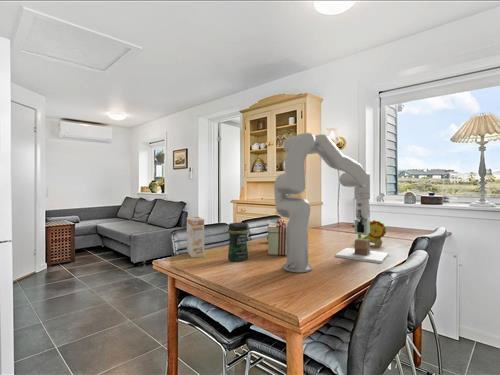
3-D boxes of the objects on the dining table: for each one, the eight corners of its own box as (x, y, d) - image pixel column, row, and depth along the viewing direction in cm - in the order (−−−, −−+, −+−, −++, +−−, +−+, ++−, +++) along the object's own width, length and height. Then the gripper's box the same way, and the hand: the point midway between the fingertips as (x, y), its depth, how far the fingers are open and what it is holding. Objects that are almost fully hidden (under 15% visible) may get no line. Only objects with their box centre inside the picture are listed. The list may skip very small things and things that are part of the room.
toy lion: (357, 244, 177) (357, 219, 176) (359, 242, 181) (359, 218, 181) (385, 247, 168) (385, 221, 168) (386, 245, 173) (386, 220, 172)
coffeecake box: (205, 256, 151) (204, 219, 150) (191, 258, 148) (190, 220, 148) (199, 250, 165) (198, 216, 164) (186, 251, 162) (186, 216, 162)
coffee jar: (232, 263, 138) (232, 224, 138) (226, 259, 145) (225, 222, 145) (250, 260, 143) (250, 222, 143) (243, 256, 150) (242, 220, 150)
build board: (381, 263, 135) (381, 260, 135) (335, 256, 148) (335, 254, 148) (388, 255, 150) (388, 252, 150) (346, 249, 163) (346, 247, 163)
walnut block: (366, 255, 145) (366, 241, 145) (354, 253, 148) (354, 240, 148) (369, 253, 150) (369, 239, 150) (357, 251, 153) (357, 238, 153)
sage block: (367, 234, 145) (366, 220, 145) (354, 233, 148) (354, 219, 148) (369, 232, 150) (369, 219, 149) (357, 231, 153) (357, 218, 153)
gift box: (303, 255, 151) (303, 222, 151) (267, 255, 151) (267, 223, 151) (298, 248, 168) (298, 218, 168) (266, 248, 168) (266, 218, 168)
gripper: (365, 197, 139) (365, 234, 140) (373, 195, 153) (374, 229, 154) (349, 197, 144) (349, 233, 144) (359, 195, 158) (359, 228, 158)
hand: (362, 231), depth 149 cm, fingers closed on sage block, 6 cm apart
